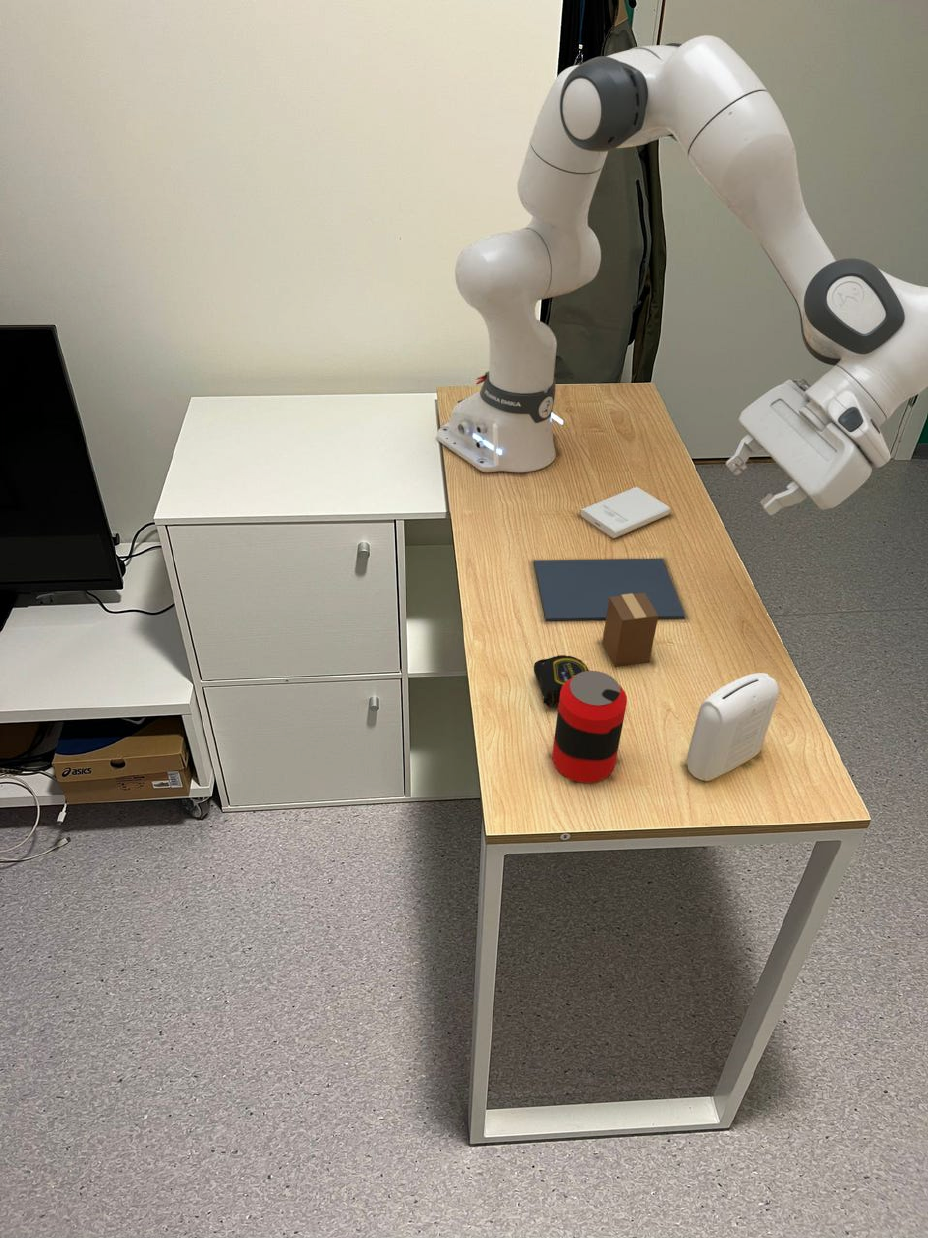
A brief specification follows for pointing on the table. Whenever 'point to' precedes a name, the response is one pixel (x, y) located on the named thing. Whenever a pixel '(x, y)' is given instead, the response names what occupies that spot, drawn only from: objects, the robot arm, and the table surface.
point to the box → (629, 629)
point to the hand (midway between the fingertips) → (747, 489)
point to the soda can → (588, 726)
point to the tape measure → (556, 675)
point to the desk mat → (603, 587)
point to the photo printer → (732, 726)
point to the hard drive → (625, 512)
